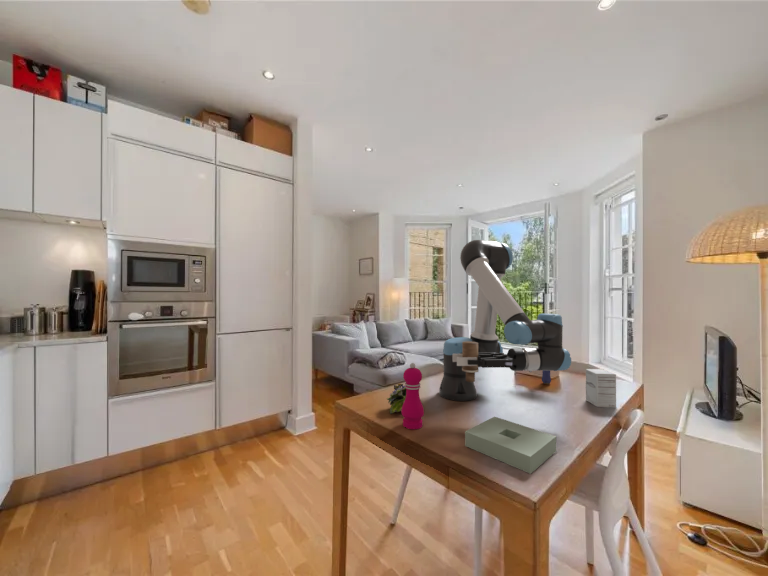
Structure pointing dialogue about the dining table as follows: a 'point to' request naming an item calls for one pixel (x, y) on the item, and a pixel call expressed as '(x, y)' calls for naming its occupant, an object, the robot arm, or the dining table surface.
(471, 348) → the walnut peg
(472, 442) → the sage board
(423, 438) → the dining table surface
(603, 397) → the supplement box
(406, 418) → the pepper mill
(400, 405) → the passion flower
